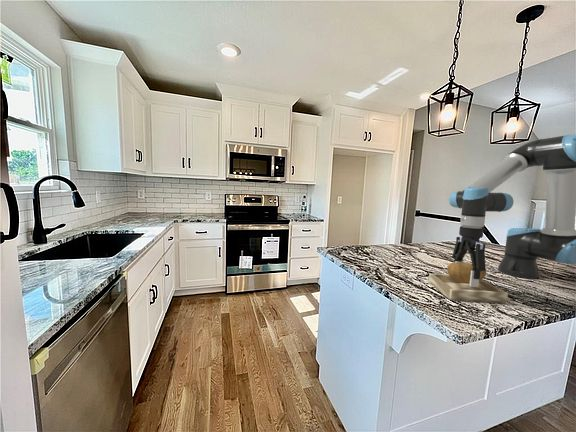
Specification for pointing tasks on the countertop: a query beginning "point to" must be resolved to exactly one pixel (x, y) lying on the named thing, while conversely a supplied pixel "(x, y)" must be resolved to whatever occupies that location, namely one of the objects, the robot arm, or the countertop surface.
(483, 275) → the potato
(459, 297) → the tray
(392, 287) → the countertop surface
